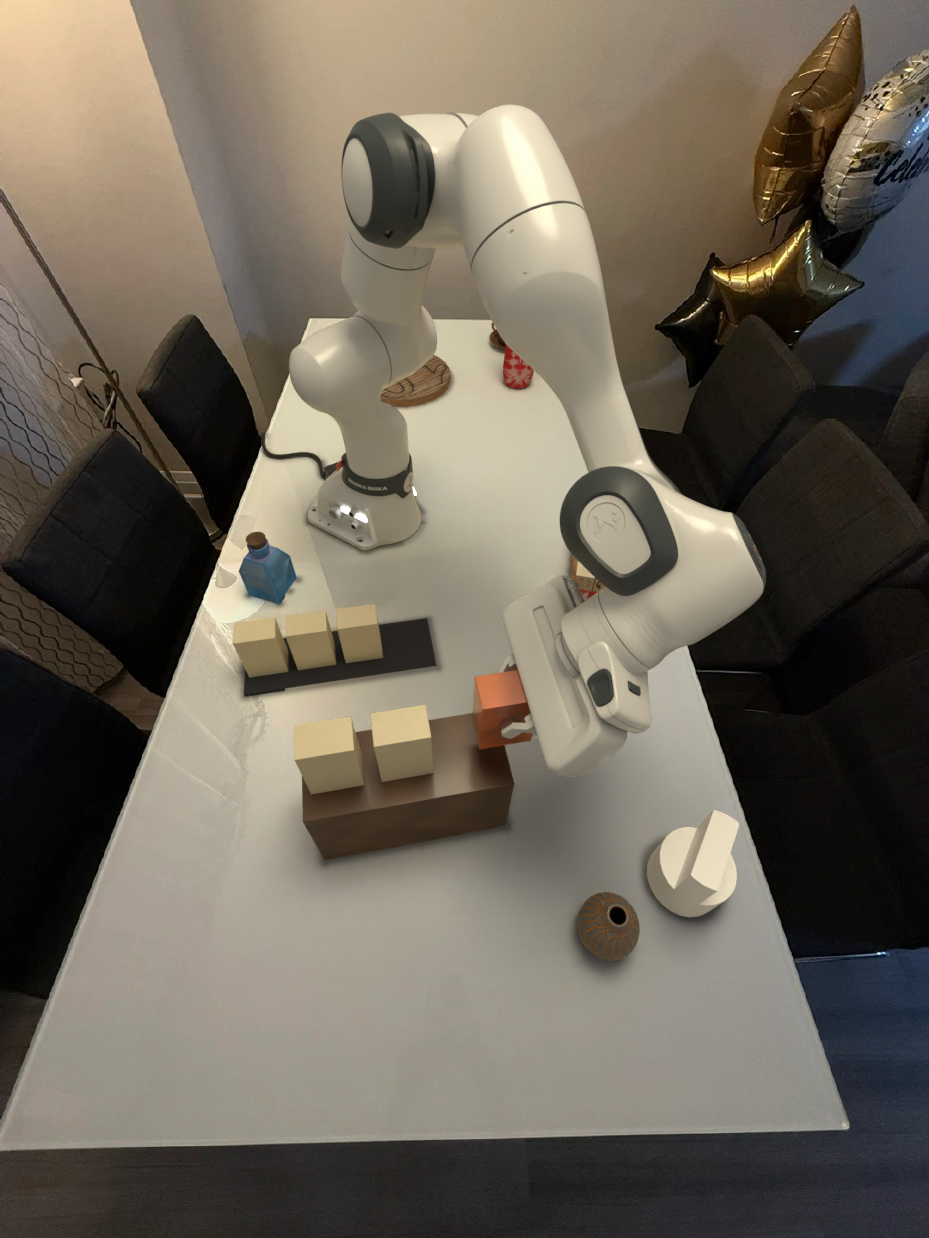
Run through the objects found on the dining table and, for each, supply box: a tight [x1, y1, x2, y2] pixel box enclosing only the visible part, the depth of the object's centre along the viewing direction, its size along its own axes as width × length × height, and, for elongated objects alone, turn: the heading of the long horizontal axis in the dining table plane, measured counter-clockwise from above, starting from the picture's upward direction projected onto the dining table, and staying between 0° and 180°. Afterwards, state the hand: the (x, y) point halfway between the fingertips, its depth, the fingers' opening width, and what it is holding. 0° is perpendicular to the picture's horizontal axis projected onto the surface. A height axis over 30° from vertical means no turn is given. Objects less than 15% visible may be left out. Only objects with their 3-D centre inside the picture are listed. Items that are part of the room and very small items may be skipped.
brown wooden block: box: [293, 704, 515, 861], centre depth 70 cm, size 24×10×23 cm, turn 101°
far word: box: [232, 603, 437, 697], centre depth 91 cm, size 30×10×10 cm, turn 101°
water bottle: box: [502, 342, 535, 390], centre depth 140 cm, size 12×8×25 cm, turn 177°
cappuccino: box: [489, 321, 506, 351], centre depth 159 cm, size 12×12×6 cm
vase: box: [576, 891, 641, 962], centre depth 66 cm, size 7×7×9 cm
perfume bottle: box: [238, 531, 298, 605], centre depth 99 cm, size 6×6×12 cm
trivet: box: [380, 354, 451, 408], centre depth 148 cm, size 25×25×2 cm
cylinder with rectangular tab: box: [646, 809, 741, 918], centre depth 69 cm, size 9×9×12 cm
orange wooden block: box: [472, 670, 533, 749], centre depth 63 cm, size 6×4×9 cm, turn 101°
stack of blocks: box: [569, 555, 605, 601], centre depth 101 cm, size 21×6×12 cm, turn 169°
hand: (498, 710), depth 63 cm, fingers closed on orange wooden block, 4 cm apart
